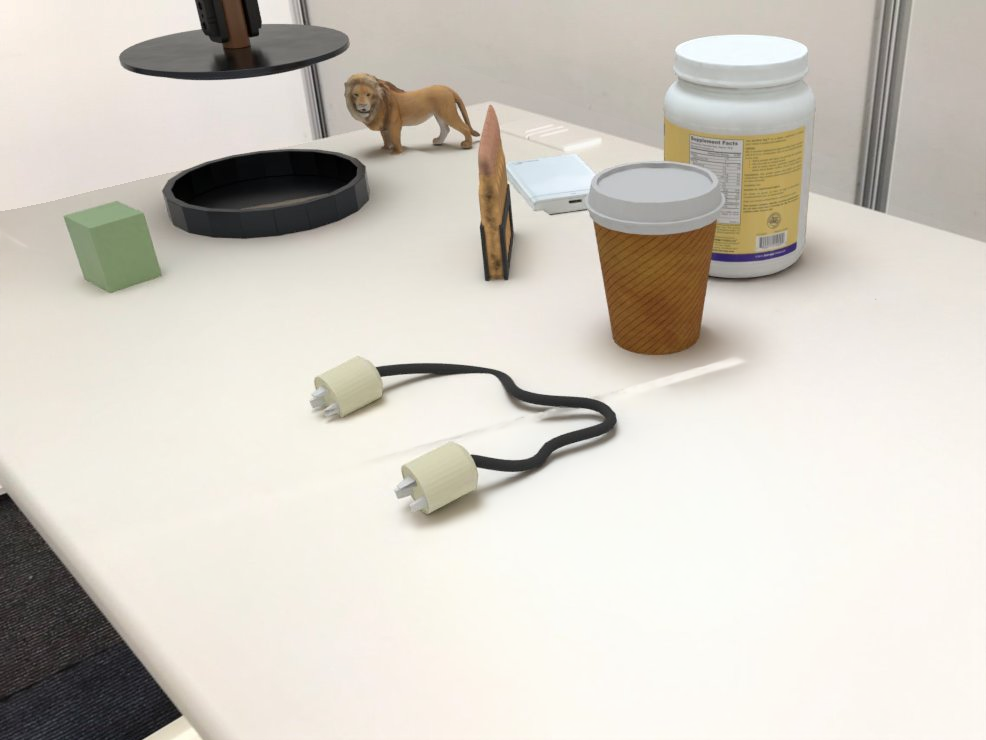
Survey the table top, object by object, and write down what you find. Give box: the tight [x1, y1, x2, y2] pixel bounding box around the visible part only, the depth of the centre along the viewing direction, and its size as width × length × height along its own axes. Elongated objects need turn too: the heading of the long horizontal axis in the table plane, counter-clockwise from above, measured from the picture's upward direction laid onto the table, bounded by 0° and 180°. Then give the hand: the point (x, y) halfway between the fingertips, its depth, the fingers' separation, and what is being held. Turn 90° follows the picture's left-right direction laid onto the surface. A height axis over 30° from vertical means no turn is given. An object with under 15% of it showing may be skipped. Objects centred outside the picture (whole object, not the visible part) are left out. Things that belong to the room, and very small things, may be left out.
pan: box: [161, 148, 370, 240], centre depth 101 cm, size 19×19×3 cm
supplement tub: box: [662, 34, 817, 279], centre depth 85 cm, size 12×12×17 cm
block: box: [63, 200, 163, 294], centre depth 85 cm, size 4×4×6 cm
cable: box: [308, 355, 618, 515], centre depth 66 cm, size 16×16×4 cm
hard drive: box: [506, 153, 598, 215], centre depth 104 cm, size 2×8×12 cm
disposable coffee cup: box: [585, 160, 725, 356], centre depth 73 cm, size 10×10×12 cm
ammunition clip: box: [477, 104, 515, 282], centre depth 86 cm, size 11×2×12 cm, turn 3°
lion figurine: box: [343, 72, 481, 156], centre depth 114 cm, size 15×5×9 cm, turn 121°
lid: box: [118, 0, 351, 81], centre depth 92 cm, size 20×20×7 cm
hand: (234, 37), depth 93 cm, fingers closed on lid, 2 cm apart
